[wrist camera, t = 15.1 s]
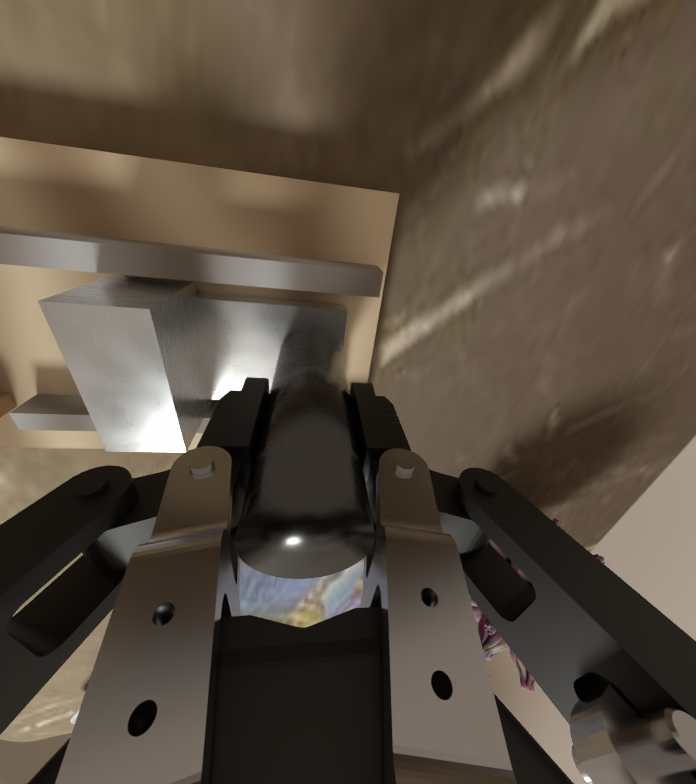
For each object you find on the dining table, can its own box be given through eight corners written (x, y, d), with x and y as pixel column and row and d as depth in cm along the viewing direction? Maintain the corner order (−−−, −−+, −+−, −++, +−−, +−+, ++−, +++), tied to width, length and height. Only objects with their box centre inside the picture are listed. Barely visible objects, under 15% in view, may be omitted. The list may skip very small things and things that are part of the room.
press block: (153, 396, 15) (-44, 628, 7) (116, 273, 12) (-341, 430, 4) (335, 402, 16) (357, 602, 8) (346, 294, 13) (402, 441, 5)
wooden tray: (-76, 428, 17) (-159, 475, 14) (-370, 87, 9) (-688, 31, 6) (353, 435, 20) (359, 475, 17) (391, 194, 13) (414, 191, 10)
